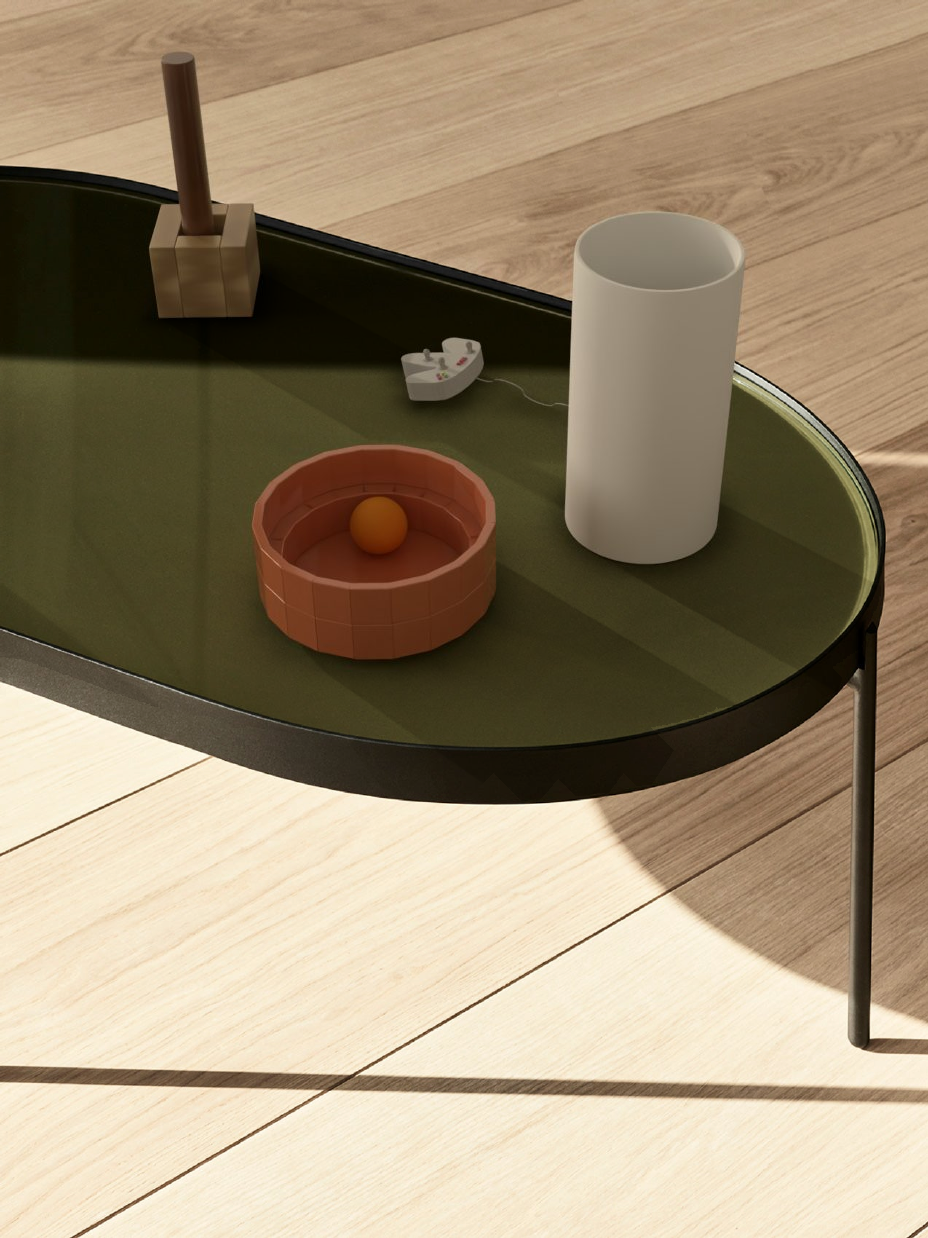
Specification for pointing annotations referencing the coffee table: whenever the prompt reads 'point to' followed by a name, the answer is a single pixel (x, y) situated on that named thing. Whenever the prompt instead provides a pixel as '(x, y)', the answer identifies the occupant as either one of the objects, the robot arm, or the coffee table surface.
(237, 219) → the holder
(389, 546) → the ball
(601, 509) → the cup
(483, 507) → the bowl
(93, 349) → the coffee table surface
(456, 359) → the game controller
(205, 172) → the stick
